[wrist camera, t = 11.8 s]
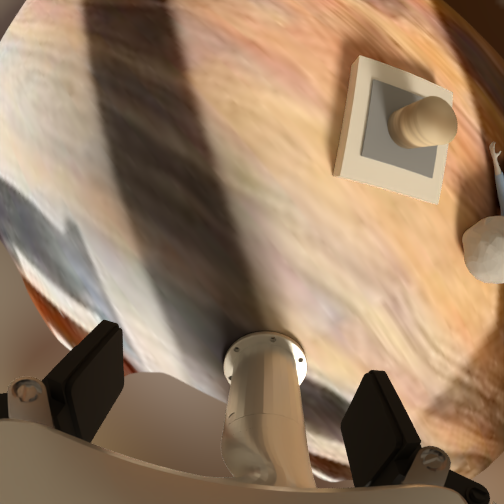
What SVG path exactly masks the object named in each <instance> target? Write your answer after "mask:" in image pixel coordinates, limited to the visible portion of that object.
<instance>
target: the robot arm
mask: <svg viewBox="0 0 504 504" xmlns="http://www.w3.org/2000/svg"><path fill="white" fill-rule="evenodd" d="M272 337H274V338H272ZM237 347H238V348H237ZM223 366H224V374H225V377H226V379H227V381H228V382H229V384H230V391H229V397H228V403H227V409H226V415H225V422H224V427H223V433H222V440H221V453H222V457H223V460H224V462H225V464H226V466H227V467H228V469H229V471H230V472H231V473H232V474H233V476H234V477H232V478H231V477H224V478H218V477H217V478H216V477H204V476H199V475H194V474H190V473H185V472H181V471H177V470H173V469H169V468H165V467H161V466H157V465H154V464H151V463H147V462H144V461H141V460H137V459H134V458H131V457H128V456H125V455H122V454H119V453H116V452H113V451H111V450H108V449H104V448H102V447H100V446H97V445H94V444H92V443H91V441H92V439H93V438H94V436H95V434H96V433H97V430H98V429H99V427H100V426H101V424H102V422H103V421H104V419H105V418H106V416H107V414H108V413H109V411H110V409H111V408H112V406H113V404H114V403H115V401H116V399H117V398H118V396H119V395H120V393H121V391H122V389H123V386H124V369H123V334H122V329H121V328H119V326H118V324H117V323H114V322H110V321H107V320H103V321H102V322H101V323H100V324H98V325H97V326H96V327H95V328H94V329H93V330H92V331H91V332H90V333H89V334H88V335H87V336H86V337H85V338H84V339H83V340H82V341H81V342H80V343H79V344H78V345H77V346H75V347H74V348H73V349H72V350H71V351H70V352H69V353H68V354H67V355H66V356H65V357H64V358H63V359H62V360H61V361H60V363H58V364H57V365H56V366H55V367H54V368H53V370H52V371H51V372H50V373H49V374H48V375H47V376H46V377H45V378H44V379H43V380H42V381H40V380H39V379H37V378H34V377H27V376H25V377H19V378H17V379H15V380H14V381H12V382H11V383H10V385H9V386H8V391H7V393H3V394H0V504H490V503H489V501H490V496H489V493H488V491H487V489H486V488H485V487H484V486H482V485H481V484H479V483H476V482H474V481H472V480H470V479H468V478H466V477H464V476H462V475H460V474H458V473H456V472H453V471H451V470H449V469H450V464H451V462H450V458H449V457H448V455H447V454H446V453H445V452H444V451H443V450H441V449H440V448H437V447H434V446H426V447H423V448H422V447H421V445H420V443H421V440H420V438H419V436H418V434H417V432H416V430H415V428H414V426H413V424H412V422H411V420H410V418H409V416H408V414H407V412H406V410H405V408H404V406H403V404H402V402H401V400H400V398H399V397H398V395H397V393H396V391H395V389H394V387H393V385H392V383H391V381H390V380H389V378H388V376H387V374H386V372H385V371H377V370H371V371H369V373H366V374H365V375H364V376H363V378H362V381H361V383H360V385H359V387H358V389H357V391H356V394H355V396H354V398H353V400H352V402H351V404H350V406H349V408H348V410H347V412H346V414H345V416H344V418H343V420H342V422H341V432H342V436H343V440H344V444H345V448H346V452H347V456H348V460H349V465H350V469H351V473H352V478H353V482H354V486H355V488H317V487H316V484H315V481H314V477H313V474H312V470H311V465H310V460H309V453H308V446H307V438H306V431H305V422H304V415H303V408H302V400H301V393H300V386H299V385H300V384H301V383H302V381H303V380H304V378H305V375H306V371H307V361H306V356H305V354H304V351H303V350H302V348H301V347H300V345H299V344H298V343H297V342H295V341H294V340H293V339H291V338H290V337H288V336H286V335H283V334H281V333H276V332H268V331H262V332H255V333H251V334H248V335H245V336H243V337H241V338H240V339H238V340H237V341H235V342H234V343H233V344H232V345H231V347H230V348H229V349H228V351H227V353H226V356H225V359H224V365H223ZM491 504H496V503H495V502H492V503H491Z"/></svg>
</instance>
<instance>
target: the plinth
mask: <svg viewBox="0 0 504 504" xmlns="http://www.w3.org/2000/svg"><path fill="white" fill-rule="evenodd" d="M429 96H437V97H440V98H442V99H443V100H445V101H446V102H447V103H448V104H449V105H450V106H451V107H452V101H453V92H451V91H449V90H447V89H445V88H443V87H441V86H438V85H436V84H434V83H432V82H430V81H427V80H425V79H423V78H421V77H418V76H416V75H413V74H411V73H409V72H406V71H404V70H401V69H398V68H396V67H393V66H390V65H388V64H385V63H382V62H379V61H376V60H373V59H370V58H367V57H364V56H361V55H359V56H358V58H357V59H356V60H355V61H354V63H353V64H352V65H351V72H350V79H349V86H348V92H347V99H346V105H345V111H344V117H343V123H342V129H341V135H340V140H339V146H338V151H337V157H336V162H335V167H334V172H333V176H334V177H338V178H342V179H346V180H350V181H354V182H358V183H362V184H365V185H369V186H373V187H376V188H380V189H383V190H387V191H390V192H394V193H397V194H401V195H404V196H407V197H411V198H414V199H417V200H420V201H423V202H428V203H432V204H436V205H438V202H439V197H440V192H441V187H442V182H443V176H444V170H445V164H446V158H447V151H448V144H444V145H436V146H427V147H419V148H412V149H405V148H402V147H400V146H398V145H397V144H396V143H394V141H393V140H392V139H391V137H390V135H389V132H388V126H387V125H388V119H389V117H390V115H391V114H392V113H393V112H394V111H396V110H398V109H400V108H403V107H405V106H407V105H410V104H412V103H414V102H416V101H419V100H421V99H423V98H426V97H429Z"/></svg>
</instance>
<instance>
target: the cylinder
mask: <svg viewBox="0 0 504 504" xmlns="http://www.w3.org/2000/svg"><path fill="white" fill-rule="evenodd" d="M387 126H388V132H389V135H390V137H391V139H392V140H393V141H394V143H396V144H397V145H398V146H400V147H402V148H405V149H412V148H419V147H427V146H436V145H444V144H448V143H450V142H451V141H452V140H453V139H454V137H455V136H456V133H457V118H456V115H455V113H454V111H453V109H452V107H451V106H450V105H449V104H448V103H447V102H446V101H445V100H443V99H442V98H440V97H437V96H429V97H426V98H423V99H421V100H419V101H416V102H414V103H412V104H410V105H407V106H405V107H403V108H400V109H398V110H396V111H394V112H393V113H392V114H391V115H390V117H389V119H388V125H387Z"/></svg>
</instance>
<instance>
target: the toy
mask: <svg viewBox="0 0 504 504" xmlns="http://www.w3.org/2000/svg"><path fill="white" fill-rule="evenodd" d="M491 145H492V148H491ZM491 145H490V147H489V149H490V152H491V155H492V158H493V162H494V169H495V181H496V188H497V193H498V198H499V203H500V208H501V216H492V217H486V218H484V219H481V220H480V221H479V222H477V223H476V224H474V225H473V226H472V227H471V228H469V229H468V230H466V231H465V233H464V234H463V237H462V243H463V248H464V260H465V264H466V266H467V268H468V270H469V272H470V273H471V274H472V275H473V276H474V277H475V278H476V279H478V280H480V281H482V282H484V283H496V284H499V283H504V175H503V172H502V171H501V170H500V167H499V164H498V161H497V157H498V156H499V154H500V153H501V151H500V152H499V153H497V154H496V153H495V150H494V145H495V143H494V145H493V142H492V143H491Z"/></svg>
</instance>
